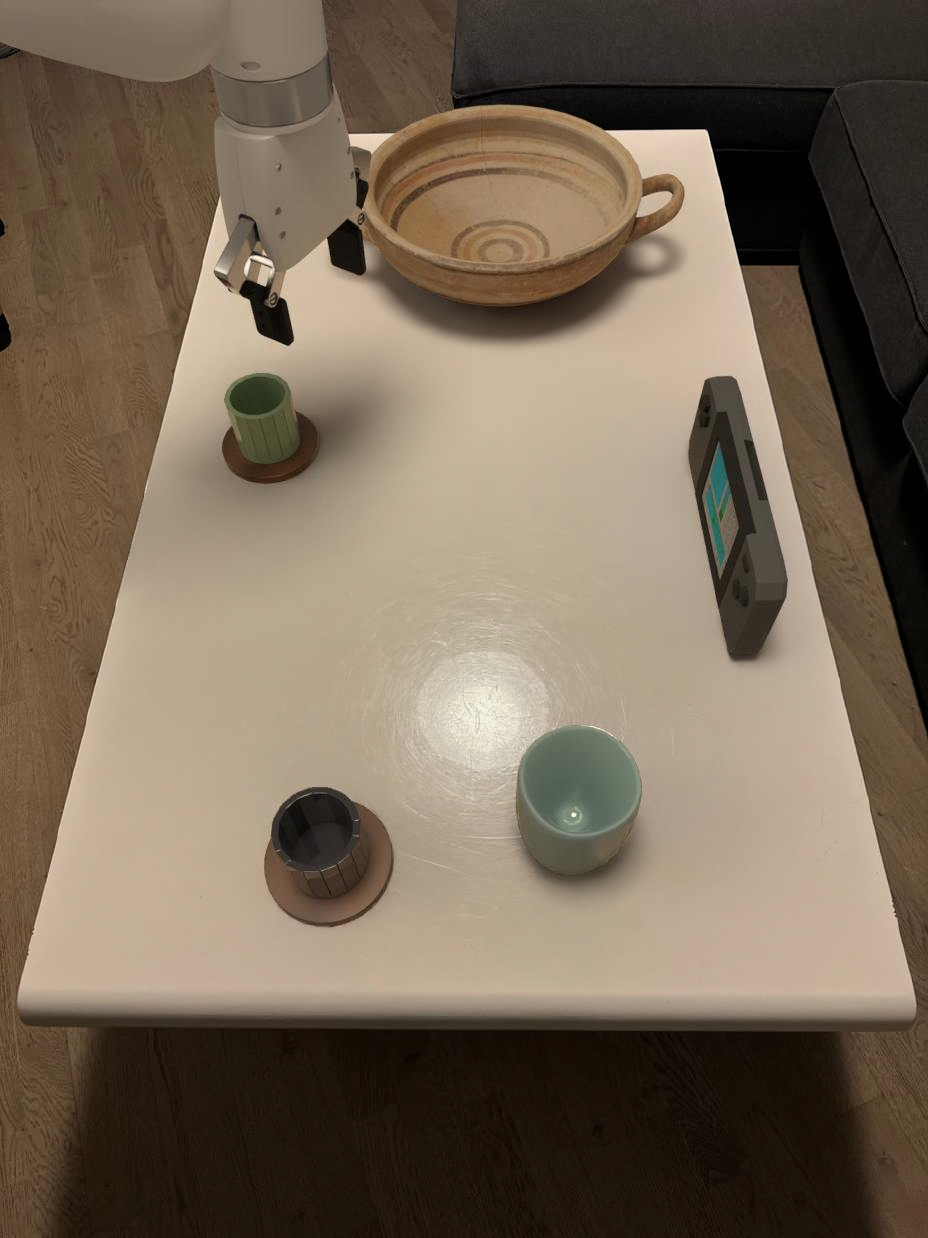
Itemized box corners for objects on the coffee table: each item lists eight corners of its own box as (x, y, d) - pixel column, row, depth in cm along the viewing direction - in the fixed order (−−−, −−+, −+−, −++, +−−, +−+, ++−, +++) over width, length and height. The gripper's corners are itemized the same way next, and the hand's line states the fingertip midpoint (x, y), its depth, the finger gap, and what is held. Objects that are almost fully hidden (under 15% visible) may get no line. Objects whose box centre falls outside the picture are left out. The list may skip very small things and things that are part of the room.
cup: (497, 805, 69) (499, 746, 60) (594, 770, 70) (609, 707, 62) (539, 905, 65) (547, 856, 56) (641, 865, 66) (664, 812, 58)
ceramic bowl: (657, 186, 111) (672, 100, 102) (685, 352, 95) (705, 266, 86) (343, 189, 111) (331, 104, 103) (319, 354, 96) (303, 269, 87)
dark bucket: (282, 899, 65) (265, 872, 60) (293, 803, 68) (278, 770, 63) (366, 899, 64) (356, 872, 60) (372, 803, 68) (364, 770, 63)
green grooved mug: (234, 464, 87) (219, 418, 82) (244, 410, 90) (231, 363, 86) (297, 464, 86) (286, 418, 82) (305, 410, 90) (294, 363, 85)
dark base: (258, 926, 64) (256, 923, 64) (274, 802, 69) (272, 798, 69) (389, 926, 64) (388, 923, 63) (396, 802, 69) (395, 798, 68)
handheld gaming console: (681, 450, 88) (702, 367, 79) (711, 449, 88) (734, 366, 79) (724, 662, 75) (754, 590, 67) (759, 661, 75) (793, 589, 67)
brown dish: (216, 483, 86) (214, 477, 86) (230, 413, 91) (229, 407, 91) (314, 483, 86) (313, 477, 86) (323, 412, 91) (322, 406, 90)
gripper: (306, 11, 66) (338, 230, 80) (138, 130, 58) (207, 350, 72) (396, 37, 63) (412, 258, 78) (234, 165, 55) (285, 384, 70)
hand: (313, 302), depth 75 cm, fingers open, 9 cm apart
